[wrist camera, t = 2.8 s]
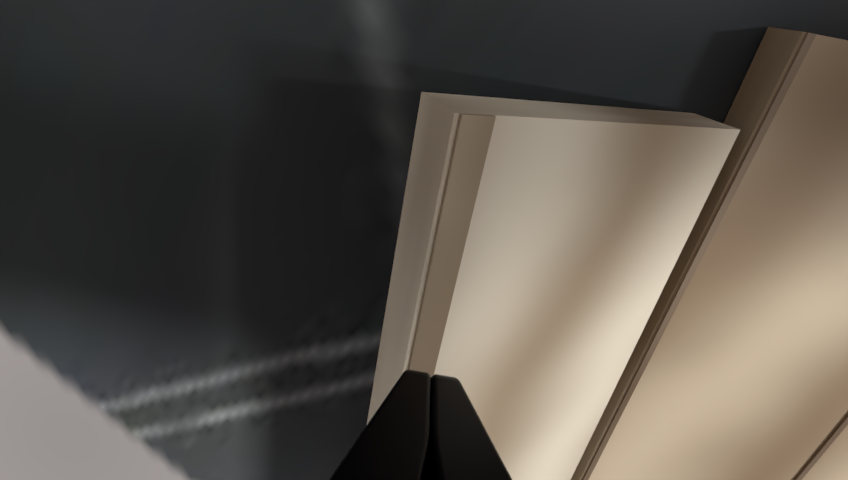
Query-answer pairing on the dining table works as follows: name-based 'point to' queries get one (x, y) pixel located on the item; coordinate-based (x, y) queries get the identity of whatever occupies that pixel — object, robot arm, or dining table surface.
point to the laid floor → (751, 298)
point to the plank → (539, 258)
